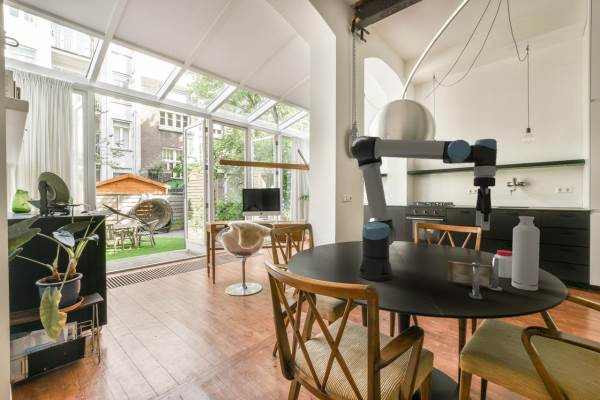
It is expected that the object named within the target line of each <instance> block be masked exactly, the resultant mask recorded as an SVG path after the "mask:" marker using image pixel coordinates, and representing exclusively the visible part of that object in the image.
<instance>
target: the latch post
mask: <svg viewBox="0 0 600 400" xmlns="http://www.w3.org/2000/svg"><path fill="white" fill-rule="evenodd" d="M471 264H472V266H473V284H472V292H469V293H468V295H469V297H470V298H472V299H477V300H483V296H482V294H481V293H480V285H479V273H480V267H481V265H482V264H481V262H477V261H472V262H471Z"/></svg>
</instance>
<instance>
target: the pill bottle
mask: <svg viewBox="0 0 600 400" xmlns="http://www.w3.org/2000/svg"><path fill="white" fill-rule="evenodd" d="M493 258H498V259H499V274H498V278H504V279H512V251H511V250H505V249H504V250H503V249H499V250H498V249H497V250H496V254H494V255H493Z"/></svg>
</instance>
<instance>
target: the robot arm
mask: <svg viewBox="0 0 600 400" xmlns="http://www.w3.org/2000/svg"><path fill="white" fill-rule="evenodd" d="M497 142H498V141H497V140H496V139H495V138H482V139H477V140H475V142H474V144H470V143H469V142H468V141H466V140H464V139H455V140H430V139H429V140H424V139H423V140H420V139H384V138H383V139H382V138H381V137H380V136H368V135H362V136H359V137H356V138H355V139H354V140H353V141H352V143H351V145H350V152H351V156H352V157H353V158H355V159H356V160H357V165H358V166H357V167H358V169H359V170H360V171H362V177H363V183H364V189H365V194H366V195H365V196H366V200H367V205H368V212H369V216H370V217H369V219H368V220H367V223H365V224H364V225H363V226H362V231H361V233H362V248H361V249H362V253H361V254H362V258H361V260H360V261H361V262H360V264H359V267H358V270H357V271H358V276H359V277H360V278H363V279H365V280H369V281H376V282H377V281H378V282H383V281H385V282H387V281H391V280H392V279H393V278H394V270H393V267H392V264H391V262H390V261H391V260H390V246H392V244H393V243H394V242H395V241H396V237H397V231H396V230H397V229H396V228H395V226H394V222H393V218H392V217H391V216H390V215H389V212H388V207H387V203H386V196H385V191H384V183H383V179H382V178H383V177H382V172H381V167H382V165H383V160H382V159H383V158H400V159H418V160H419V159H422V160H439V161H440V160H442V163H443V164H444V165H445V164H446V165H455V164H474V165H473V176H474V178H473V186H474V187H479V188H477V196H476V203H475V204H476V206H475V210H476V211H475V212H476V215H475V226H477V227H480V230H481V231H490V229H491V228H490V227H491V226H490V225H491V213H492V212H493V210H492V196H491V191H492V189H491V187H492V188H493V187H495V186H496V176H497V175H496V172H497V171H498V168H497V157H498V156H497V155H498V149H497V148H498V147H497V145H498V144H497Z"/></svg>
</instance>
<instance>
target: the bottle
mask: <svg viewBox="0 0 600 400" xmlns="http://www.w3.org/2000/svg"><path fill="white" fill-rule="evenodd" d="M518 219H519V223H518V225H515V226H514V227H512V228H513V229H512V251H511V252H512V278H511V286H512V287H514V288H516V289H520V290H525V291H533V292H534V291H538V289H539V285H538V283H539V266H540V263H539V262H540V260H539V259H540V235H541V234H540V233H541V232H540V231H541V230H540V228H539V227H537V226H535V224H534V222H533V221H534V220H535V217H534V216H527V215H526V216H525V215H524V216H523V215H519V216H518Z"/></svg>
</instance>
